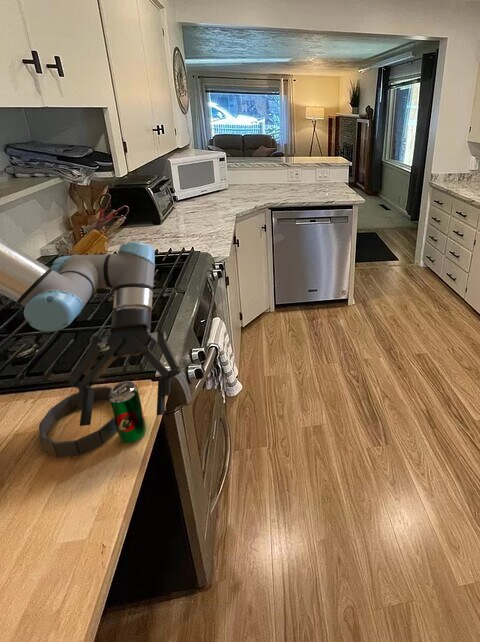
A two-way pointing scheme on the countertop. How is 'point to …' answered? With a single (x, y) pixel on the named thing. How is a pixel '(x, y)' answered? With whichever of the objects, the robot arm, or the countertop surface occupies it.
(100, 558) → the countertop surface
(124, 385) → the soda can
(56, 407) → the gray segmented ring
